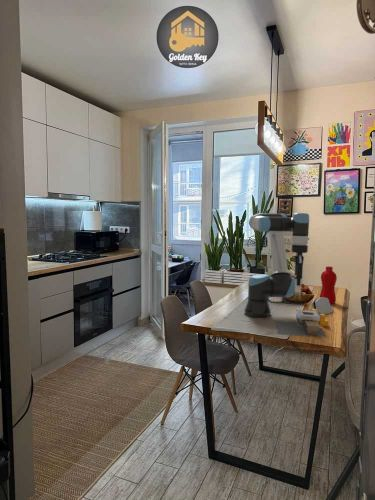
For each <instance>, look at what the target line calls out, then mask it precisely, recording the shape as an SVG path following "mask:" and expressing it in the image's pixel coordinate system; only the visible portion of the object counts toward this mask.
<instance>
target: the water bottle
mask: <svg viewBox="0 0 375 500" xmlns="http://www.w3.org/2000/svg"><path fill="white" fill-rule="evenodd" d="M333 268H334V267H333V266H325V270H324V271H322V273H321V275H320V281H321V290H320V293H319V298H321V297H325V298H328V300H329V302H330V305H334V304H335V303H336V302H337V300H336V299H337V297H336V291H335V286H336V283H337V280H338V276H337V273H336V272H334V271H333V270H334V269H333Z"/></svg>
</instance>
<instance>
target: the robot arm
mask: <svg viewBox="0 0 375 500" xmlns="http://www.w3.org/2000/svg"><path fill="white" fill-rule="evenodd" d="M248 224H249V227H250V228H251V229H252V230H254V231H257V232H266V233H267V237H269V241H270V253H271V263H272V264H271V265H272V273H271V274H270V275H269V274H262V273H261V274H253V275H252V276H250V277H249V278H248V284H247V285H248V288H247V289H248V291H247V302H246V305H245V308H244V315H245V316H248V317H252V318H263V319H265V318H267V317H270V316H271V315H272V312H271V308H270V304H269V298H291V297H292V296H294V289H295V292H301V293H302V279H303V268H304V267H303V265H304V258H305V256H304V255H303V254H307V253H308V251H309V250H308V249H309V246H308V244H309V242H308V241H309V240H310V237H309V228H310V215H309V213H308V212H307V213H306V212H296V213H293V215H292V216H289V217H288V215H286V214H285V213H279V212H277V213H269V212H267V213H266V212H265V213H264V212H260V213H259V212H258V213H256V214H254V215H252V216H251V217H250V218H249V220H248ZM287 232H289V233H292V236H291V244H292V245H291V252H292V253H295V255H294V275H296V278H295V277H293V276H292V274H291V273H290V272H289V268H288V260H287V251H286V239H285V236H286V234H287ZM295 279H296V281H295Z"/></svg>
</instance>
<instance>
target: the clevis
mask: <svg viewBox="0 0 375 500" xmlns="http://www.w3.org/2000/svg"><path fill="white" fill-rule="evenodd" d="M295 311H296V312H295V315H296V316H295V322H296V324H297V326H298V328H299V329H306V334H307V335H314V336H318V330H320V329H321V327H320V325H318V323H317V320H318V321H320V316H319V313H317V312H316V311H311V310H306V309H305V310H303V309H296V310H295Z"/></svg>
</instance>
